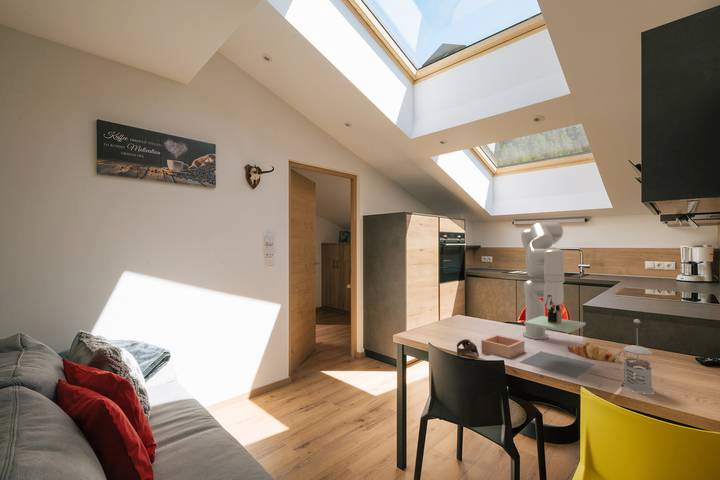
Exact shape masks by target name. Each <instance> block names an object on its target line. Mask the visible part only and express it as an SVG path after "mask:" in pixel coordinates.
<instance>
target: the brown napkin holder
mask: <svg viewBox="0 0 720 480" xmlns="http://www.w3.org/2000/svg"><path fill="white" fill-rule="evenodd" d="M461 345H462V348H461V347H460V346H461ZM464 354H465V355H466V354H477V357H480V356H479V351H478V347H477V345H476V343H474V342H472V341H471V340H470V339H465V338H464V339H461V340H460V341H458V342H457V344H456V355H457V356H459V355H464Z"/></svg>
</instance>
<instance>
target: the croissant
mask: <svg viewBox="0 0 720 480" xmlns="http://www.w3.org/2000/svg"><path fill="white" fill-rule="evenodd" d="M567 350H568V351H569V352H571V353H572V354H575V355H577V356H580V357H583V358H586V359H589V360H590V359H591V360H593V361H595V360H596V361H604V362H610V363H611V362H612V363H616V355H617V354H613V353H611V352H610V351H609V350H608V349H605V348H601V347H599V346H598V345H596V344H594V343H590V342H587V343H585V344H579V345H572V346H570V345H568V346H567ZM619 360H620V363H621V364H622V360H621V359H620V357H619V356H617V363H616V364H618V363H619ZM620 363H619V364H620Z"/></svg>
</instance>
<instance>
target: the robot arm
mask: <svg viewBox="0 0 720 480" xmlns="http://www.w3.org/2000/svg"><path fill="white" fill-rule="evenodd" d="M563 234H564V228H563V226H562V225H561V223H559V222H552V221H551V222H546V221H545V222H538V223H537V222H536V223H534V224H533V225H531V227H530V228H528V229H524V230H522V232H521V233H520V236H521V239H520V240H521V243H522V246H523V248H524V250H525V251H524V252H525V269H526V270H525V271H526V274H527V276H528V277H532V278H544V279H528V280H526V281H525V282H524V283H523V291H524V299H525V322H526V321H528V320H531V319H534V318H537V317H539V316H546V308H547V317H548V321H549V322H555V323H556V322H557V313H556V310H559V311H561V312H562V304H564V300H565V297H564V295H565V294H564V283H565V252H564V251H563V250H562V249H559V248H551V247H552V246H553V245H556V244H557V243H558V242H559V241H560V240H561V238H562V237H563V236H564V235H563ZM540 298H543V301H542V299H540ZM545 305H546V306H545ZM547 330H548V329H546V328H541V327H535V326H530V325H525V331H523V333H522V336H523V337H525V338H528V339H531V340H532V339H533V340H547V339H549V335H548V334H547V333H546V331H547Z"/></svg>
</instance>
